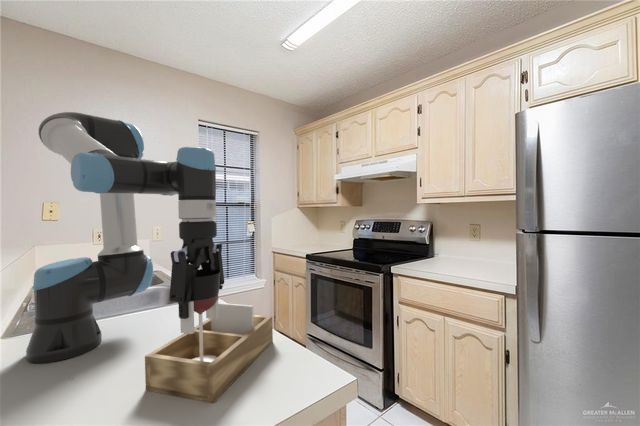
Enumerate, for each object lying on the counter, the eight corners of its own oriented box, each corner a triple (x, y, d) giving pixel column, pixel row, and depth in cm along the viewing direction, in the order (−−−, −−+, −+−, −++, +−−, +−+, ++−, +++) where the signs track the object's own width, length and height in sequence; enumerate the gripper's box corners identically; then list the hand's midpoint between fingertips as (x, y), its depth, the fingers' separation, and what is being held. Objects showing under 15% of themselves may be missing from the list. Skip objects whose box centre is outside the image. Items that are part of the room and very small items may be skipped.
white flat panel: (211, 344, 77) (210, 303, 77) (213, 343, 78) (212, 302, 78) (252, 350, 74) (251, 306, 74) (254, 348, 75) (253, 305, 74)
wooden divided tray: (145, 390, 60) (144, 356, 60) (221, 335, 85) (221, 311, 85) (213, 403, 55) (212, 366, 55) (272, 341, 80) (272, 316, 80)
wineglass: (209, 376, 60) (207, 277, 59) (171, 372, 61) (169, 276, 61) (229, 356, 67) (227, 269, 67) (195, 353, 69) (193, 268, 69)
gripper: (177, 222, 53) (181, 348, 53) (238, 218, 72) (240, 310, 73) (144, 222, 55) (148, 344, 55) (212, 218, 74) (214, 308, 75)
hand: (200, 324), depth 64 cm, fingers closed on wineglass, 7 cm apart
